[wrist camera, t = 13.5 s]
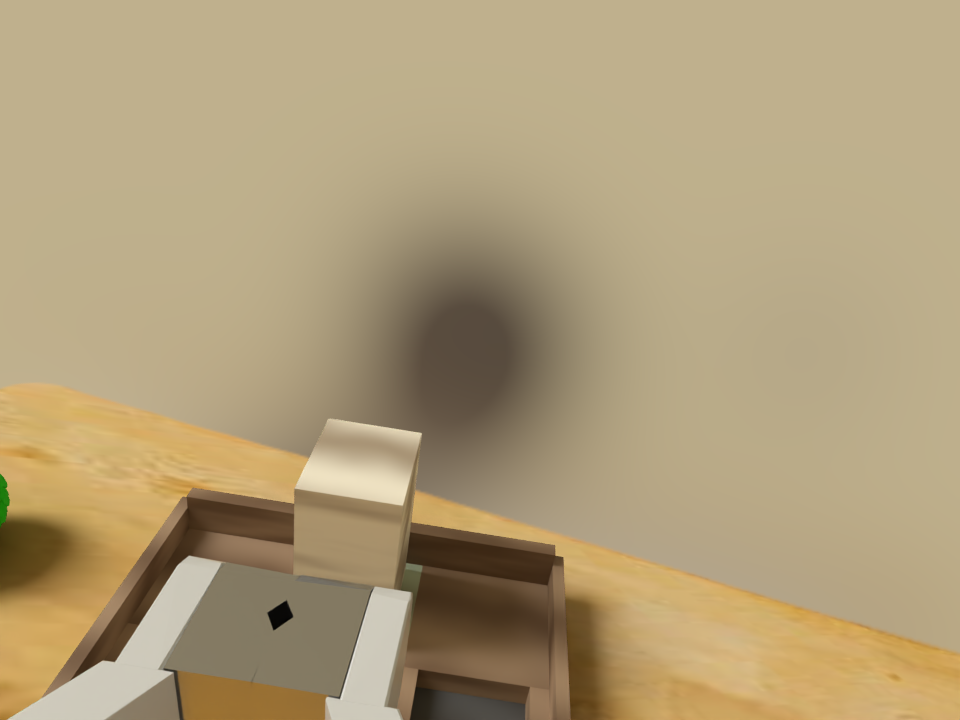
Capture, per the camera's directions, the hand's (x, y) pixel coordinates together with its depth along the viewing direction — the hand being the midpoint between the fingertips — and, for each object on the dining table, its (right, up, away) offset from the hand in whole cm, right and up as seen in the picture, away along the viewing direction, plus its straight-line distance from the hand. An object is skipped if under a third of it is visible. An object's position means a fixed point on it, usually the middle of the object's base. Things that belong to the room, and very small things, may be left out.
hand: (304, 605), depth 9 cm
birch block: (-6, -13, +37) cm, 40 cm away
